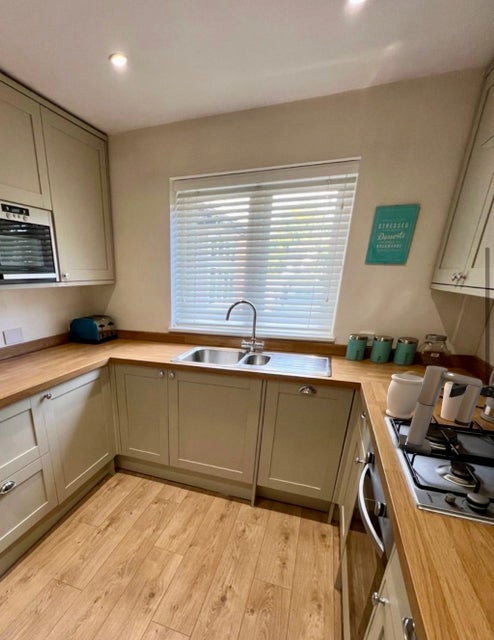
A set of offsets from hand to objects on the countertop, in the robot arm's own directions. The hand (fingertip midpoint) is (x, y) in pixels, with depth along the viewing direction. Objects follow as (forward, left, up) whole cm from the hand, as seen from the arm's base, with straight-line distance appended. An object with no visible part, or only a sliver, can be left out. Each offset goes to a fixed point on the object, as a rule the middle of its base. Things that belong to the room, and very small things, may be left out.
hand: (479, 400), depth 91 cm
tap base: (+11, 0, -18) cm, 21 cm away
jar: (+15, -27, -18) cm, 36 cm away
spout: (+8, +3, -6) cm, 10 cm away
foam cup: (-2, -35, -18) cm, 39 cm away
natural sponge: (+11, -63, -18) cm, 66 cm away
